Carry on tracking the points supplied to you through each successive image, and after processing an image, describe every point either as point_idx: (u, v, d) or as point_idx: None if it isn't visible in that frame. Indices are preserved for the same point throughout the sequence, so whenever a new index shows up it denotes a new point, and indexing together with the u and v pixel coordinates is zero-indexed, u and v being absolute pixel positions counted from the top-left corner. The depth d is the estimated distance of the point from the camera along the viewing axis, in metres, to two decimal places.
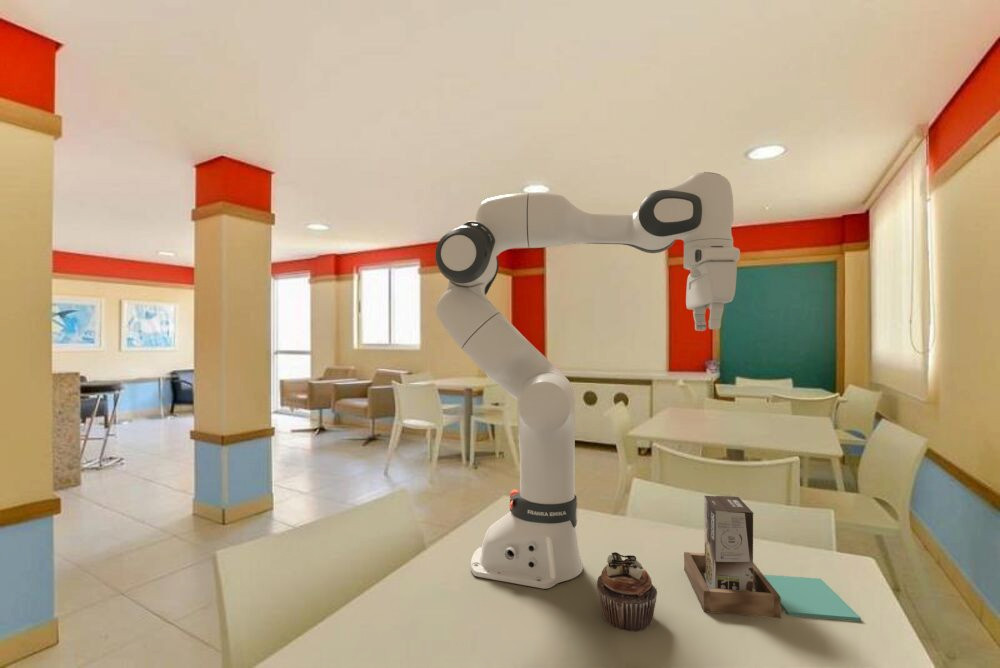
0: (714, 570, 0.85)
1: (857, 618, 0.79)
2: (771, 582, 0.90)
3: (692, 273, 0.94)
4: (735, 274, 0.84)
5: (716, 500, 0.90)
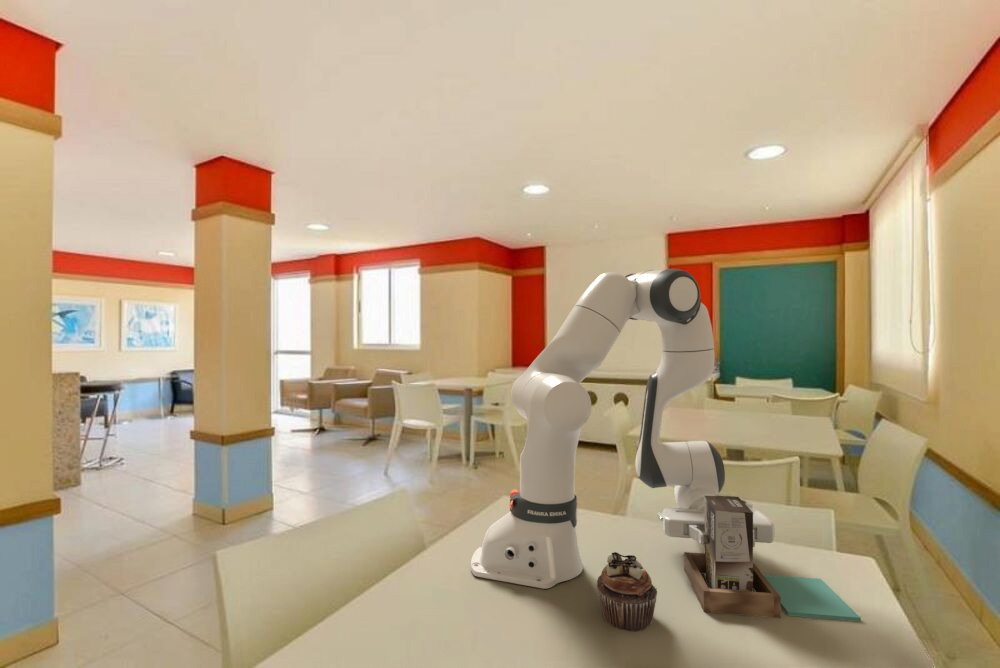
0: (714, 570, 0.85)
1: (857, 618, 0.79)
2: (771, 582, 0.90)
3: None
4: None
5: (716, 500, 0.90)
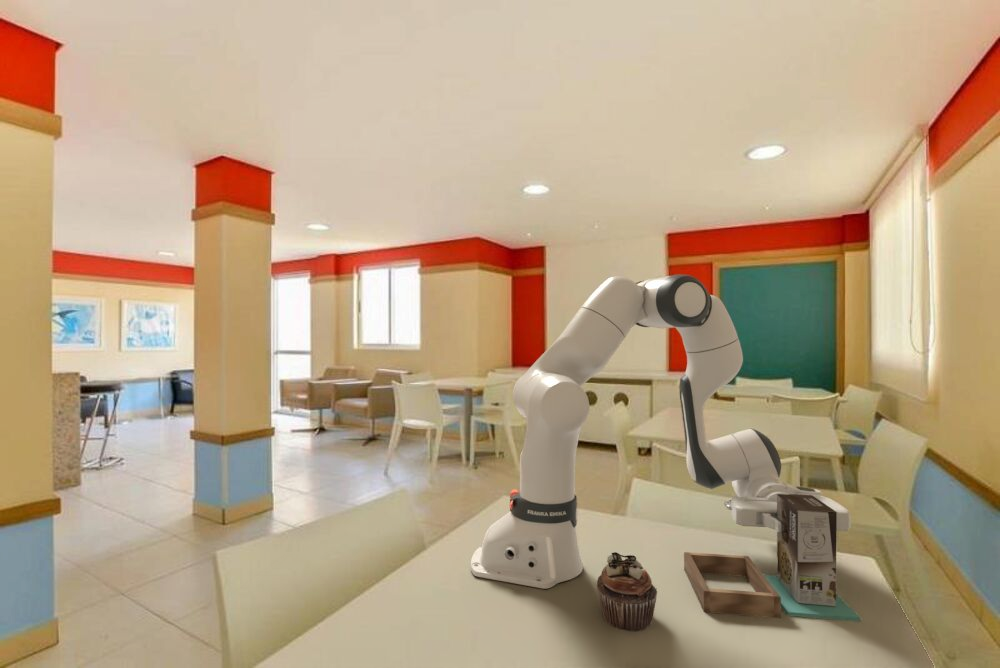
0: (795, 570, 0.84)
1: (857, 618, 0.79)
2: (771, 582, 0.90)
3: (784, 493, 0.97)
4: None
5: (791, 498, 0.89)
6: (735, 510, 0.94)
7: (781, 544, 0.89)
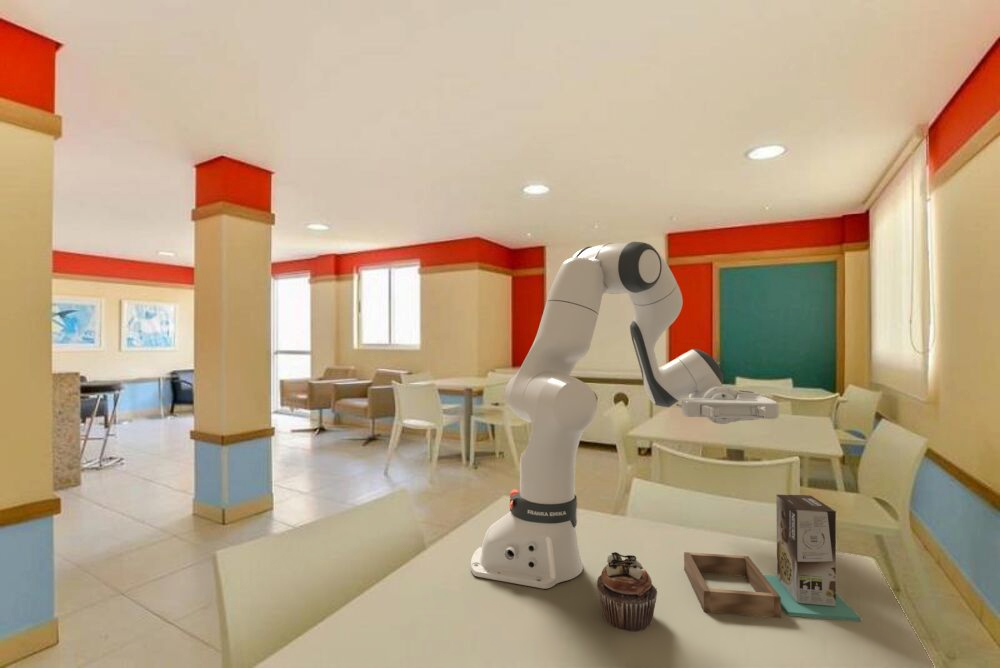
0: (795, 570, 0.84)
1: (857, 618, 0.79)
2: (771, 582, 0.90)
3: (727, 393, 1.14)
4: None
5: (791, 499, 0.89)
6: (683, 404, 1.11)
7: (781, 544, 0.90)
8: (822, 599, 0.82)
